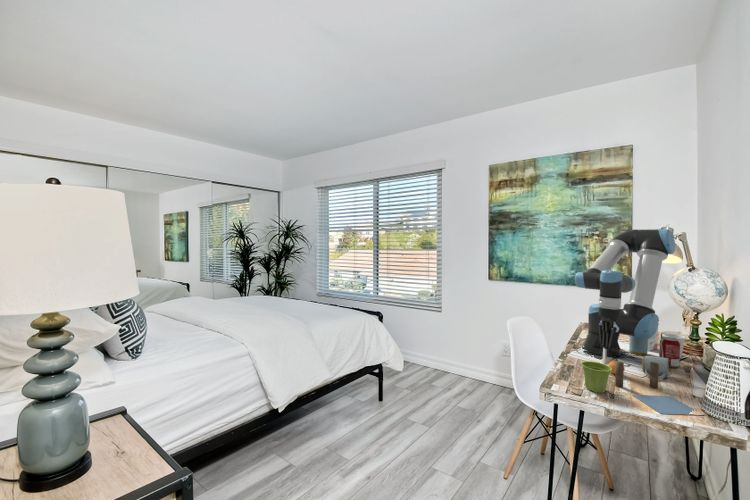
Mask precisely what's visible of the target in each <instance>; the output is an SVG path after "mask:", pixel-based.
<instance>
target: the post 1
mask: <svg viewBox="0 0 750 500" xmlns="http://www.w3.org/2000/svg"><path fill="white" fill-rule="evenodd" d="M624 368H625V362H623V361H619V360H616V374H614V376H615V378H614V379H615V382H614V383H615V384H614V386H615V387H617V388H623V387H624V372H625V369H624Z"/></svg>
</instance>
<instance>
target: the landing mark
mask: <svg viewBox="0 0 750 500" xmlns="http://www.w3.org/2000/svg"><path fill="white" fill-rule="evenodd" d="M632 397H634V398H636V399H637V400H639V401H640V402H642V403H644V404H645V405H647V406H648V407H650V408H651V409H653V410H654V411H655V412H657V413H659V414H660V415H673V416H674V415H675V416H677V415H676V414H685V415H684V416H691V415H690V414H689V413H690V412H692V410H693V411H694V409H695V408H693V407H691V406H689V404H687V403H684V402H682V401H681V400H678V399H677V398H675V397H674V396H672V395H654V394H653V395H652V394H649V395H648V394H632ZM687 414H689V415H687Z"/></svg>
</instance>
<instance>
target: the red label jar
mask: <svg viewBox="0 0 750 500" xmlns="http://www.w3.org/2000/svg"><path fill="white" fill-rule="evenodd" d="M661 335H662V337H673V338H677V339H678V342H679V343H680V358H681V359H682V356H683V350H684V345H685V342H686V339H687V338H686V337H685V336H683V335H680V334H674V333H663V334H661Z"/></svg>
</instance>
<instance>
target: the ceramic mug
mask: <svg viewBox="0 0 750 500" xmlns="http://www.w3.org/2000/svg"><path fill="white" fill-rule="evenodd" d="M650 362H655V363H658V364H659V373H658V381H662V380H663V379H664V378H665V379H669V375H670V372H669V371H670V370H669V368H670V367H669V364H668V358H662V357H659V356H653V355H643V357H642V365H641V366H642V367H641V368H642V372H643V373H644V374H645V377H647V378H649V379H650Z"/></svg>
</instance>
